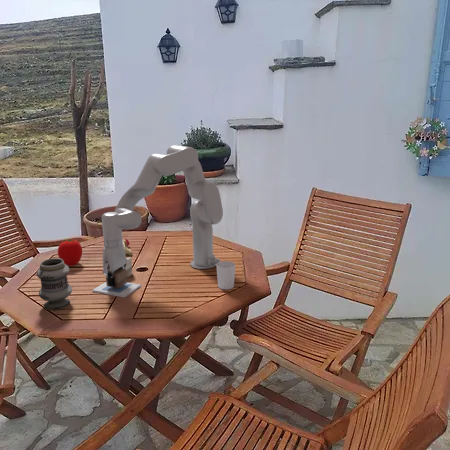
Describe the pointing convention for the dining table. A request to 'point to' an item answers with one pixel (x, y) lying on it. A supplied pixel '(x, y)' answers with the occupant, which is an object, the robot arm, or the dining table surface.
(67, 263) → the tomato
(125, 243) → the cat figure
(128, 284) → the board
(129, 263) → the ash pillar
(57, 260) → the apothecary jar
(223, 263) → the white cup
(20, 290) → the dining table surface
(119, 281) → the walnut cube
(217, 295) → the dining table surface
